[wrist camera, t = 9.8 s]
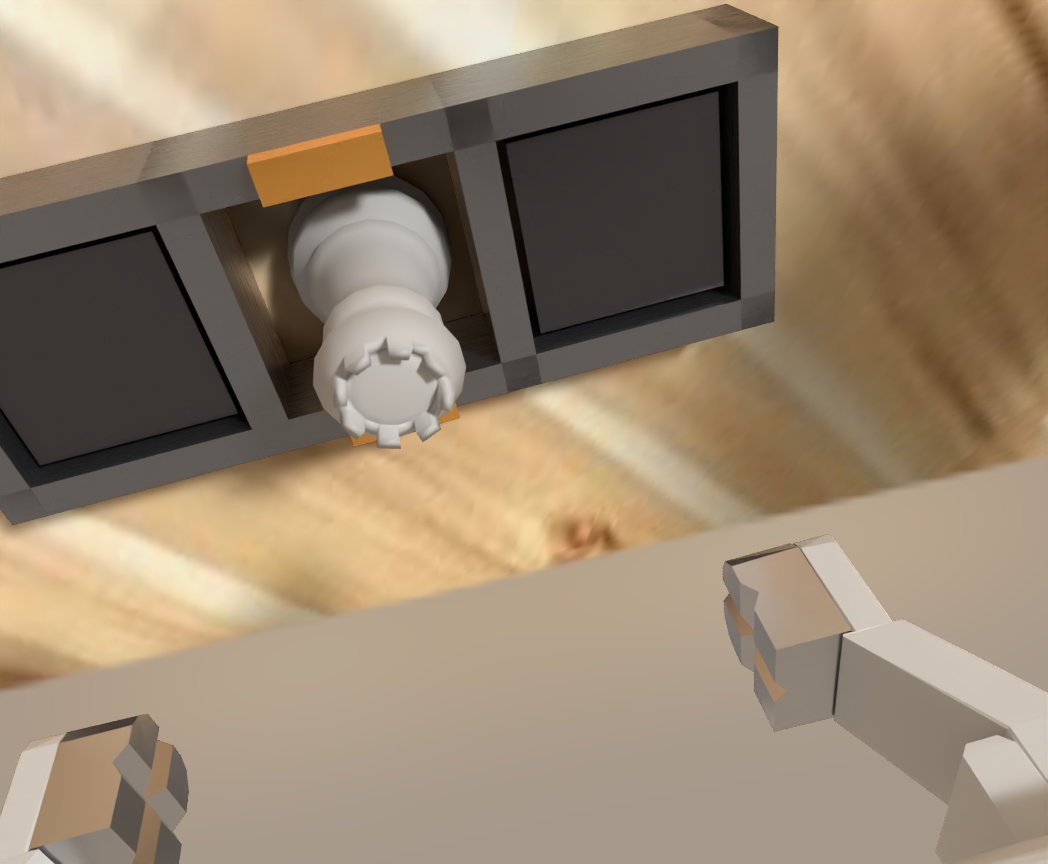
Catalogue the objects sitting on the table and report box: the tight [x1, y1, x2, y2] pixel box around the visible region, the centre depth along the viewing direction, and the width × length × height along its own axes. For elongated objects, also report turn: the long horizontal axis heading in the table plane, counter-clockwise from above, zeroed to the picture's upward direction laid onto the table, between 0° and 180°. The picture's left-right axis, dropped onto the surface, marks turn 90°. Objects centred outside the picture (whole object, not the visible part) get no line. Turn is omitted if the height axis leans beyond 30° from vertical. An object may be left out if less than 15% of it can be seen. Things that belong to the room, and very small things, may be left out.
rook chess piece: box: [288, 175, 466, 449], centre depth 21 cm, size 4×4×8 cm
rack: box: [0, 4, 778, 525], centre depth 22 cm, size 22×8×4 cm, turn 100°
